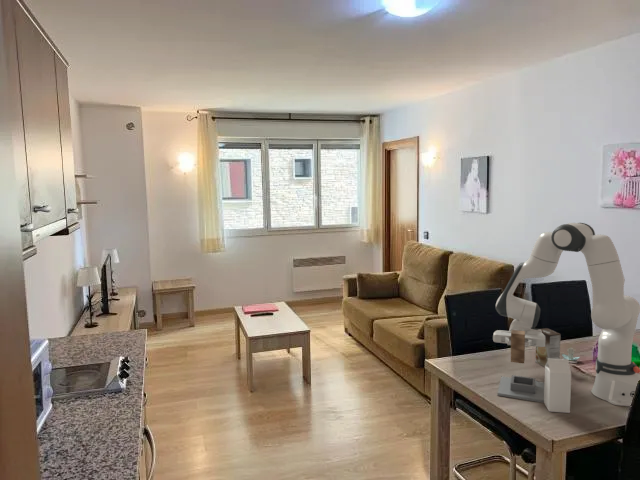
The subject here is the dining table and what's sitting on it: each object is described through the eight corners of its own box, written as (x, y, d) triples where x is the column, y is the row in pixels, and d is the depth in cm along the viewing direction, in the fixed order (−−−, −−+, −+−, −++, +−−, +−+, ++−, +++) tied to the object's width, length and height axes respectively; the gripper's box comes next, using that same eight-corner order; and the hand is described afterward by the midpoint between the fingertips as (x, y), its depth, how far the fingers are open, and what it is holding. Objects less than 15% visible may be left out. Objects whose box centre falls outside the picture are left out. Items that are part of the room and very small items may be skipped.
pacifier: (577, 365, 216) (580, 361, 220) (577, 352, 215) (580, 348, 219) (559, 361, 220) (563, 357, 225) (560, 348, 220) (563, 345, 224)
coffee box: (534, 362, 220) (535, 329, 218) (546, 360, 221) (547, 327, 219) (548, 369, 211) (549, 334, 209) (560, 367, 212) (561, 333, 210)
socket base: (547, 385, 194) (547, 375, 194) (547, 403, 178) (547, 393, 178) (501, 378, 202) (501, 369, 202) (497, 395, 186) (497, 385, 186)
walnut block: (524, 359, 193) (525, 331, 191) (524, 363, 188) (524, 334, 187) (511, 357, 195) (511, 329, 194) (510, 361, 190) (511, 333, 189)
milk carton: (570, 413, 170) (571, 363, 168) (549, 411, 172) (550, 362, 169) (564, 404, 177) (565, 356, 175) (543, 403, 178) (545, 355, 176)
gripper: (494, 325, 207) (490, 334, 194) (545, 329, 198) (545, 339, 185) (494, 339, 207) (490, 348, 195) (545, 344, 198) (545, 354, 186)
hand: (517, 344), depth 190 cm, fingers closed on walnut block, 5 cm apart
